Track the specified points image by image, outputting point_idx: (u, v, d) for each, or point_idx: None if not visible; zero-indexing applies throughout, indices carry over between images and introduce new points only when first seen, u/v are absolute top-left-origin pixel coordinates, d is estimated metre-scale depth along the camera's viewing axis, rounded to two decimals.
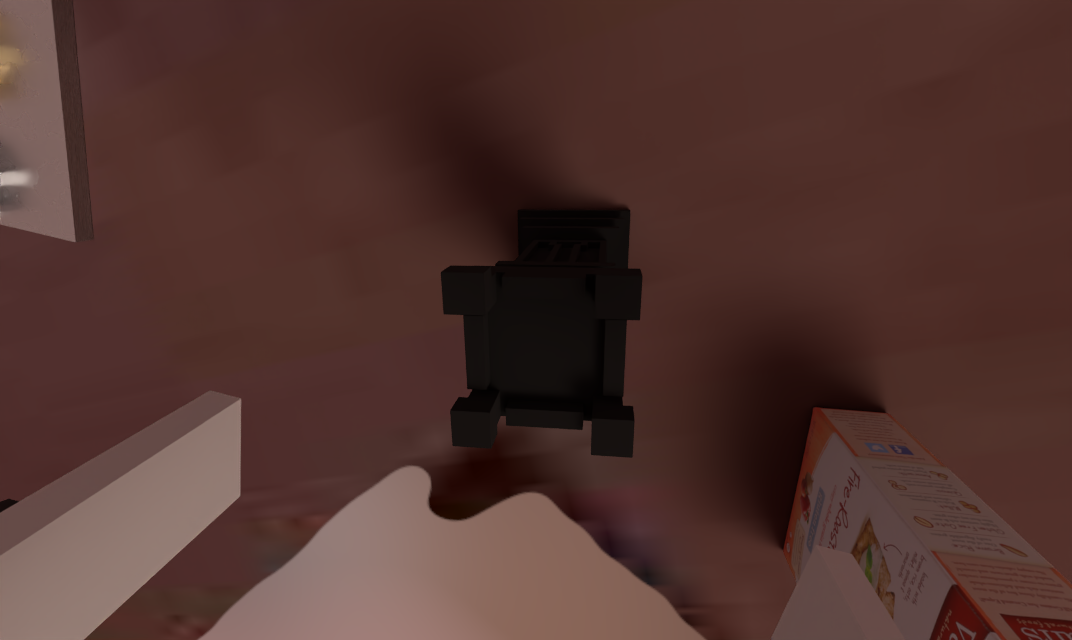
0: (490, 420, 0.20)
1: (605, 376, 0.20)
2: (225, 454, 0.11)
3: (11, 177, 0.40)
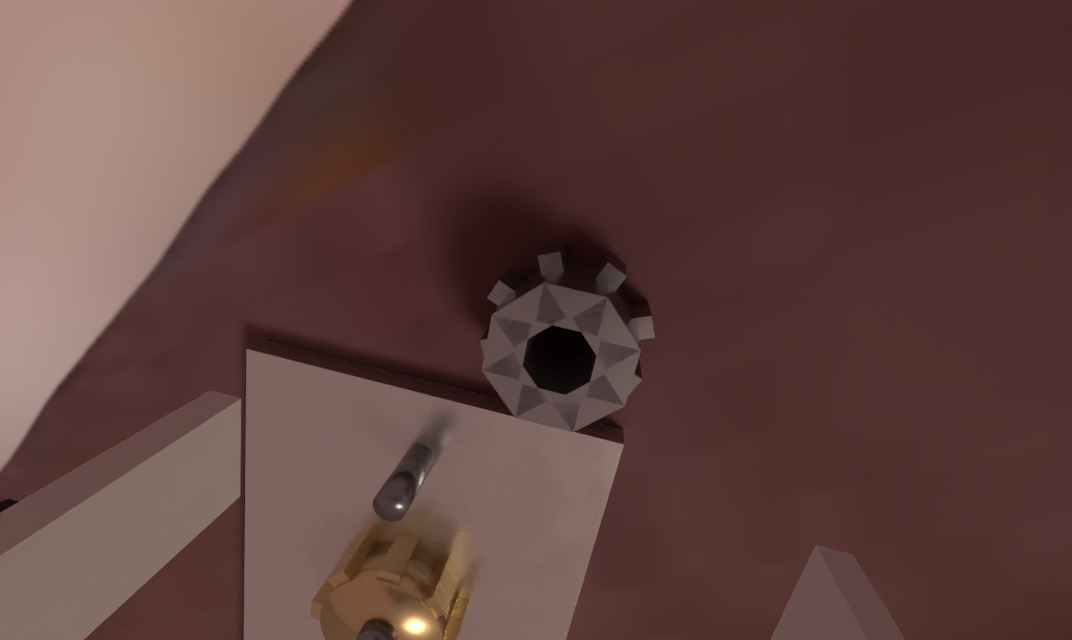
0: None
1: None
2: (225, 454, 0.11)
3: None
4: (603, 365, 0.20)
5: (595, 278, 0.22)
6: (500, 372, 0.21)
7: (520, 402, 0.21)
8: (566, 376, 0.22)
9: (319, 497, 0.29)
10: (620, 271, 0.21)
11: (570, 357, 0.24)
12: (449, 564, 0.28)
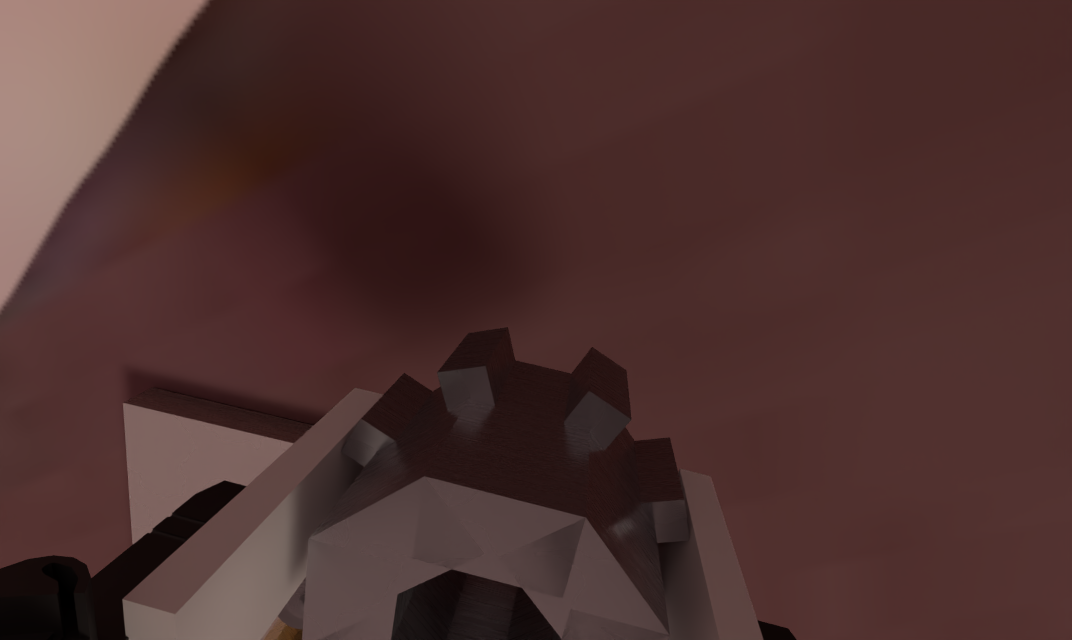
0: None
1: None
2: None
3: None
4: None
5: (563, 421, 0.10)
6: None
7: None
8: (504, 620, 0.11)
9: None
10: (617, 408, 0.10)
11: None
12: None
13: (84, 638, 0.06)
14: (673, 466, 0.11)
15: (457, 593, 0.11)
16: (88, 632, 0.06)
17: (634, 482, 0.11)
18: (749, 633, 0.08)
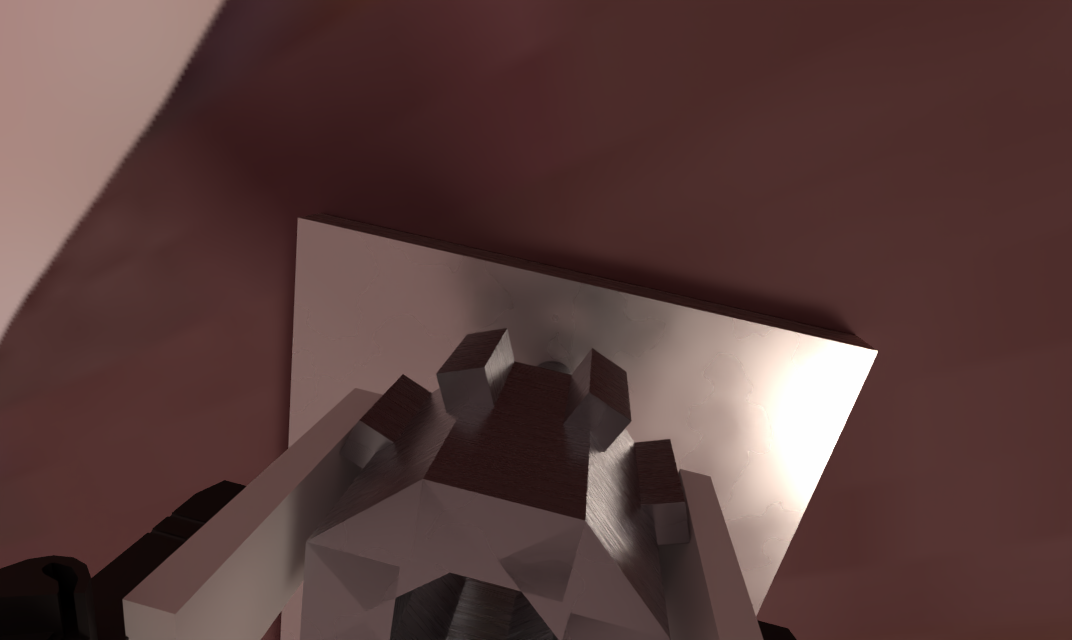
0: None
1: None
2: None
3: None
4: None
5: (562, 423, 0.10)
6: None
7: None
8: (503, 623, 0.10)
9: None
10: (617, 409, 0.10)
11: None
12: None
13: (85, 638, 0.06)
14: (673, 468, 0.11)
15: (456, 596, 0.11)
16: (89, 632, 0.06)
17: (634, 484, 0.10)
18: (749, 633, 0.08)
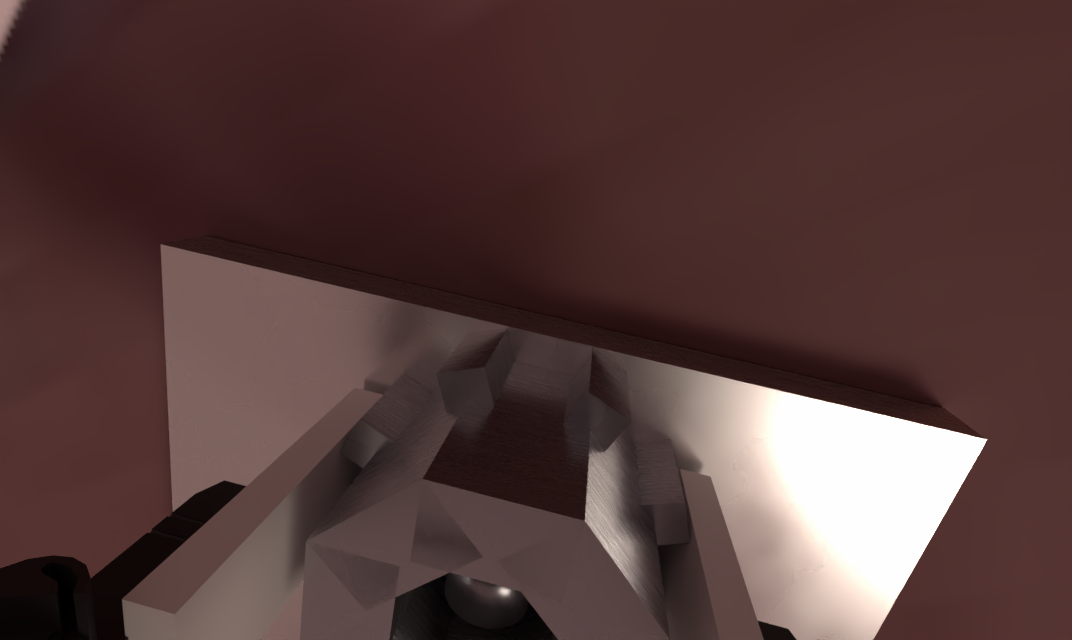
0: None
1: None
2: None
3: None
4: None
5: (562, 423, 0.10)
6: None
7: None
8: None
9: None
10: (617, 409, 0.10)
11: None
12: None
13: (84, 638, 0.06)
14: (674, 468, 0.11)
15: None
16: (88, 632, 0.06)
17: (634, 484, 0.10)
18: (750, 633, 0.08)
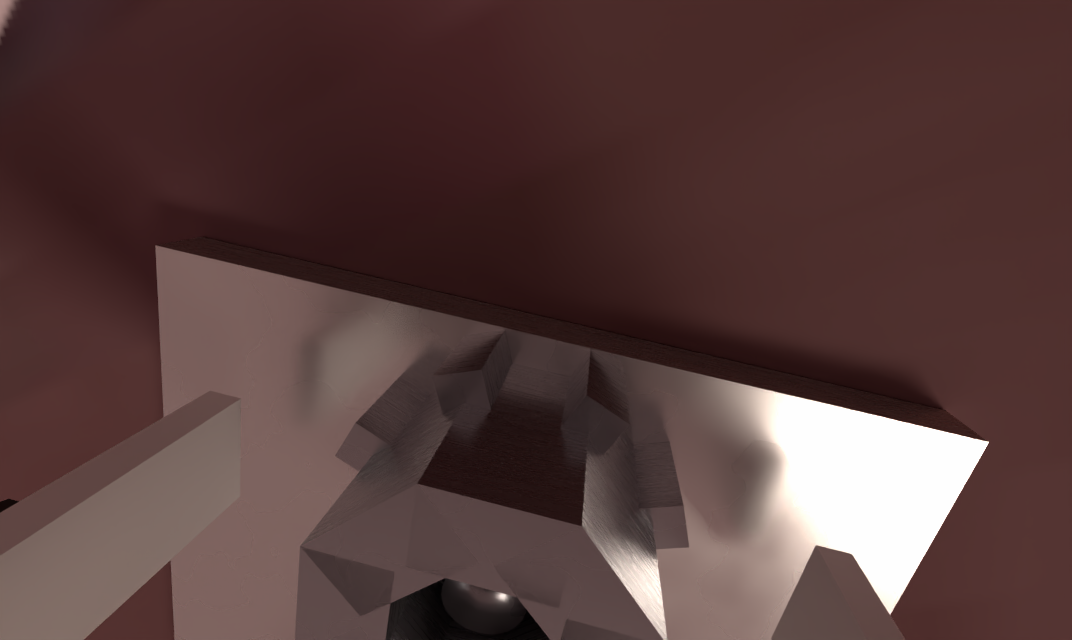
0: None
1: None
2: (225, 454, 0.11)
3: None
4: None
5: (560, 426, 0.10)
6: None
7: None
8: None
9: None
10: (615, 412, 0.10)
11: None
12: None
13: None
14: (672, 471, 0.11)
15: None
16: None
17: (632, 487, 0.10)
18: None
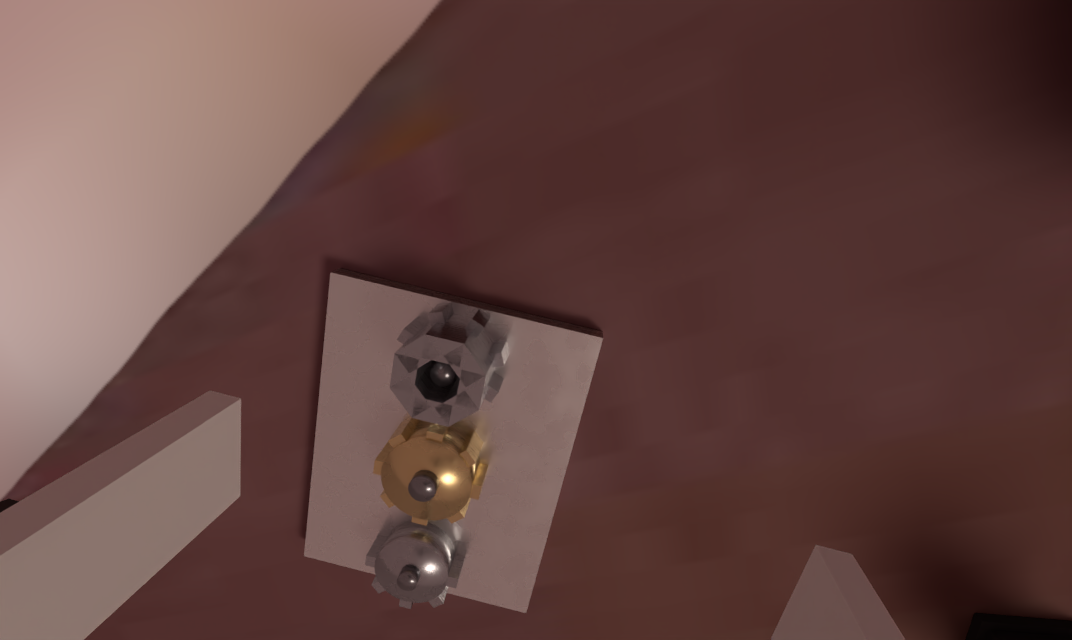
0: None
1: None
2: (225, 454, 0.11)
3: (476, 561, 0.42)
4: (464, 384, 0.32)
5: (464, 328, 0.34)
6: (401, 389, 0.33)
7: (414, 408, 0.33)
8: (447, 390, 0.34)
9: (377, 387, 0.38)
10: (480, 324, 0.34)
11: (455, 377, 0.36)
12: (475, 435, 0.38)
13: None
14: (503, 346, 0.35)
15: (433, 384, 0.35)
16: None
17: (488, 348, 0.34)
18: None
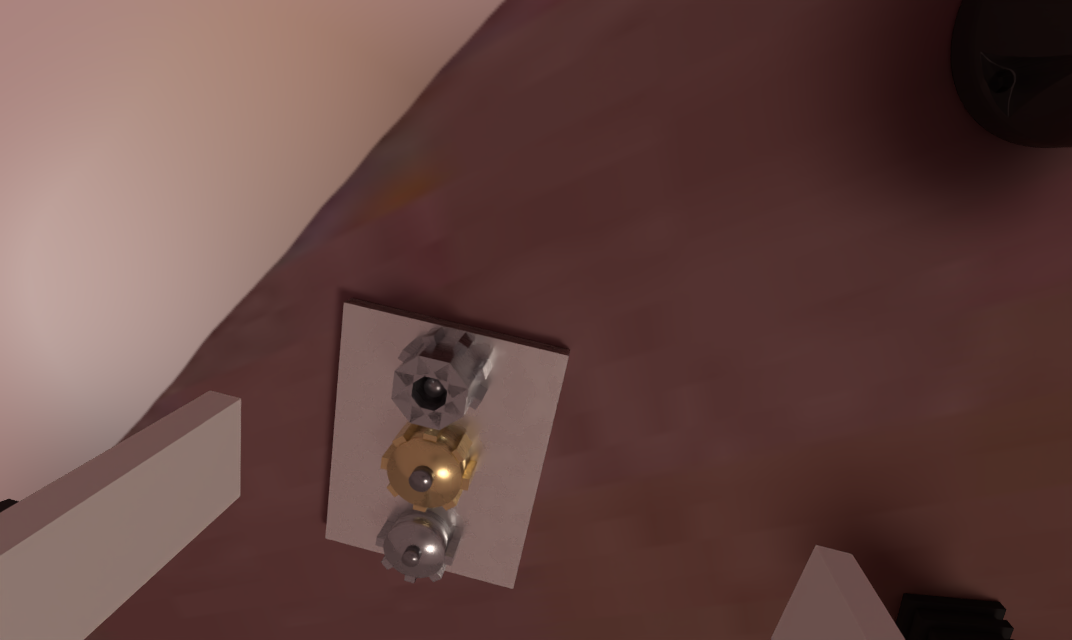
0: None
1: None
2: (225, 454, 0.11)
3: (469, 543, 0.50)
4: (451, 396, 0.39)
5: (452, 349, 0.41)
6: (400, 399, 0.40)
7: (411, 414, 0.40)
8: (439, 400, 0.42)
9: (384, 396, 0.46)
10: (465, 345, 0.41)
11: None
12: (465, 436, 0.46)
13: None
14: (485, 363, 0.42)
15: (427, 395, 0.42)
16: None
17: (472, 365, 0.42)
18: None
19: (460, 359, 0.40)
